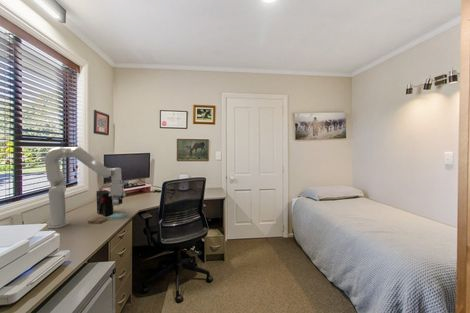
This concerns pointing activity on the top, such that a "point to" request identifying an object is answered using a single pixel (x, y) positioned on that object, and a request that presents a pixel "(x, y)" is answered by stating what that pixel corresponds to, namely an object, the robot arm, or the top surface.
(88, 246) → the top surface
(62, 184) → the robot arm
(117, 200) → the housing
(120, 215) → the stand
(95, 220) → the stand
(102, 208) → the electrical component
